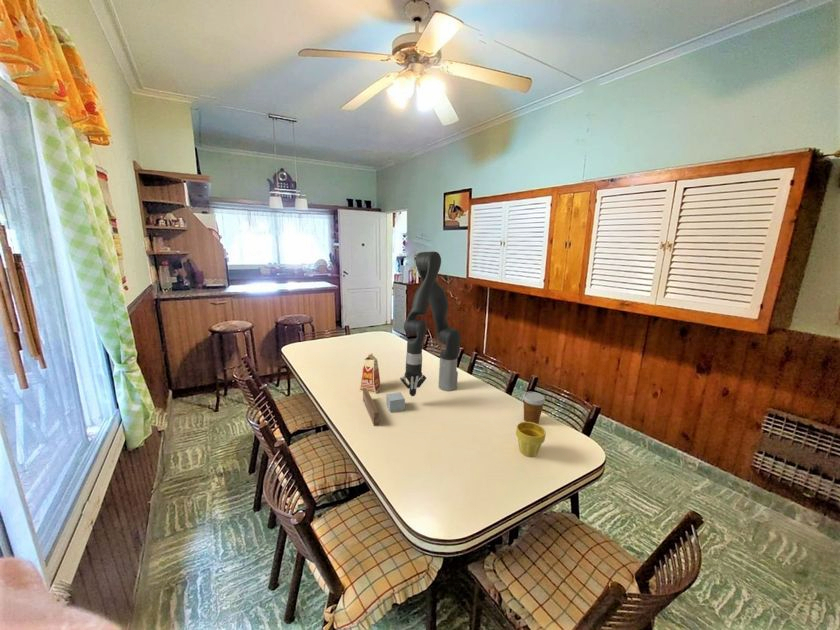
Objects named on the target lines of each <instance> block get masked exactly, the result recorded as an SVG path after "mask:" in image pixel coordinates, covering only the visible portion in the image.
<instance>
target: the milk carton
mask: <svg viewBox="0 0 840 630" xmlns="http://www.w3.org/2000/svg"><path fill="white" fill-rule="evenodd" d="M378 363H379V362H378V358H376V357H375V355H373V352H371V353H369V354H368V355H367V357H365V359H364V362H363V366H362V372H361V373H362V375H361V380H360V386H359V389H358V392H361V391H362V392H361V393H363V389H364V388H367V389H368V391H369V394H373V395H374V394H377V393H378V391H379V390H380V388H381V377H380V369H379V364H378Z"/></svg>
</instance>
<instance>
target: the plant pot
mask: <svg viewBox="0 0 840 630" xmlns="http://www.w3.org/2000/svg"><path fill="white" fill-rule="evenodd" d="M546 434H547V431H546V429H545V428H544V427H543V426H542V425H540V424H539V423H538V424H536V423H532V422H525V421H522V422H519V423H517V425H516V429H515V435H516V437H517V440H518V449H519V452H520V454H522V455H523V456H525V457H528V458H534V457H537V456H538V454H539V451H540V449H541V446H542V444H544V442H545V440H546Z"/></svg>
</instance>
